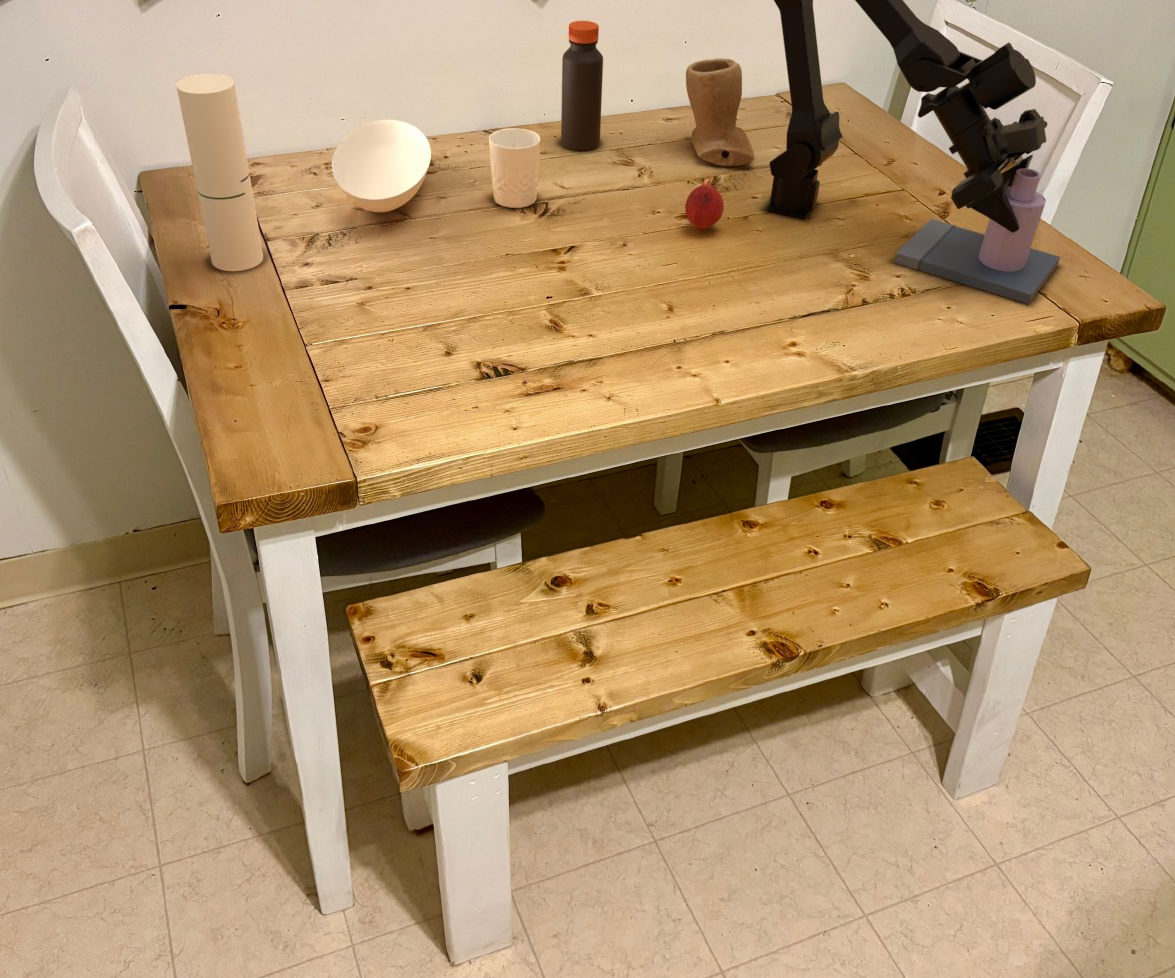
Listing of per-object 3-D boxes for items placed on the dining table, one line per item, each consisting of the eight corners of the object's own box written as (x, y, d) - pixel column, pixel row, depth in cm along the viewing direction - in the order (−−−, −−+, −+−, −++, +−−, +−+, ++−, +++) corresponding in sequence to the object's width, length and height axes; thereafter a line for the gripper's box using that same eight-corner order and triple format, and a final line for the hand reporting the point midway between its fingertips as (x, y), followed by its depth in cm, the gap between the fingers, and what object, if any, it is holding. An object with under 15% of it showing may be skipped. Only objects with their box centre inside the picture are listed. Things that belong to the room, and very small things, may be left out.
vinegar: (586, 154, 192) (589, 34, 179) (553, 145, 195) (554, 26, 182) (607, 142, 197) (612, 24, 184) (575, 132, 199) (577, 15, 187)
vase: (984, 270, 161) (1011, 182, 153) (973, 249, 166) (998, 162, 158) (1030, 272, 161) (1059, 184, 153) (1018, 251, 166) (1045, 164, 158)
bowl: (428, 237, 167) (426, 199, 163) (326, 237, 166) (321, 199, 162) (436, 155, 190) (434, 119, 186) (346, 154, 189) (342, 119, 185)
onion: (718, 240, 169) (724, 190, 164) (680, 235, 170) (685, 186, 165) (722, 223, 174) (728, 174, 169) (685, 219, 175) (690, 170, 169)
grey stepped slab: (894, 262, 166) (896, 252, 165) (928, 228, 175) (931, 218, 174) (1028, 304, 157) (1031, 294, 156) (1057, 266, 167) (1060, 255, 166)
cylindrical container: (272, 252, 162) (245, 78, 146) (245, 275, 157) (213, 96, 141) (229, 243, 164) (197, 70, 148) (201, 265, 158) (164, 88, 142)
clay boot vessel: (677, 133, 201) (684, 48, 191) (743, 135, 201) (754, 50, 191) (683, 169, 189) (692, 79, 179) (754, 170, 189) (766, 81, 180)
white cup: (481, 204, 176) (479, 142, 170) (503, 184, 182) (502, 124, 176) (527, 214, 174) (527, 151, 168) (548, 194, 180) (548, 133, 173)
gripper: (997, 116, 145) (1057, 219, 147) (1040, 76, 157) (1095, 172, 159) (925, 158, 153) (983, 256, 155) (971, 118, 165) (1024, 208, 167)
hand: (1023, 221), depth 159 cm, fingers closed on vase, 7 cm apart
